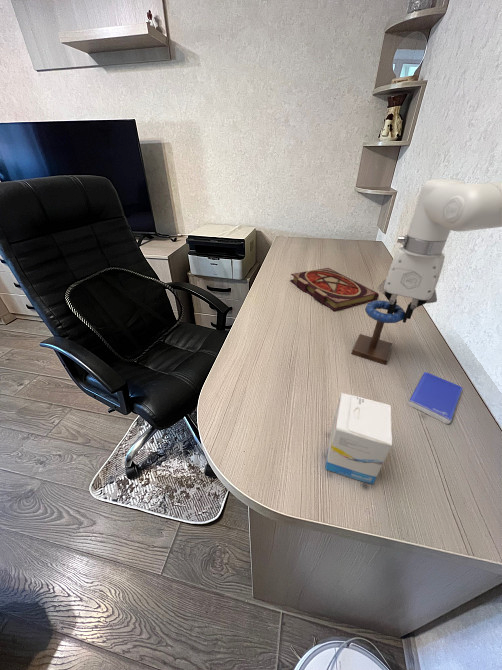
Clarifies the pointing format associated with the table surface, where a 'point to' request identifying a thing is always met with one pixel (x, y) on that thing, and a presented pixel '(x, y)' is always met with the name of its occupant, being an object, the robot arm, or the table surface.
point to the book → (333, 288)
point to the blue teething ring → (383, 317)
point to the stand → (373, 346)
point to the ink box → (359, 438)
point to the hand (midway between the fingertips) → (397, 317)
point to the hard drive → (436, 397)
